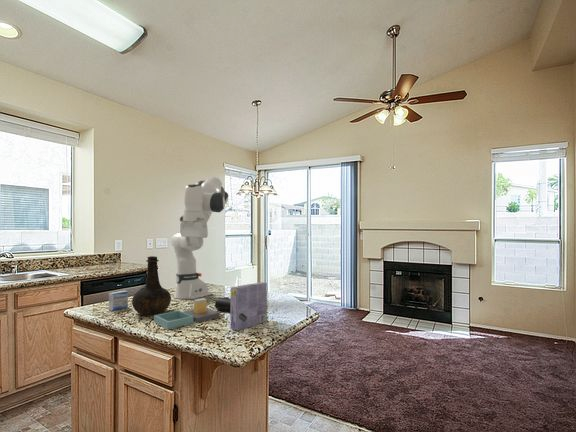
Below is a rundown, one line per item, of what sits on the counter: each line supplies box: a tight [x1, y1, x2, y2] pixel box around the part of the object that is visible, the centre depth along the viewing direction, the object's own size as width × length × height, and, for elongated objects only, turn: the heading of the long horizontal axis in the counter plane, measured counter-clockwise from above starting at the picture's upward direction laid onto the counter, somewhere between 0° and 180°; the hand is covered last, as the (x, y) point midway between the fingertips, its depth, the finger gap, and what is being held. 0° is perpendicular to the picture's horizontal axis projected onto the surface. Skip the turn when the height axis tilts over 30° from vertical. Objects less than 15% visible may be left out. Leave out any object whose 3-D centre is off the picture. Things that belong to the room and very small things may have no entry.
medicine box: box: [108, 290, 129, 312], centre depth 163 cm, size 8×4×9 cm, turn 143°
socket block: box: [182, 307, 220, 324], centre depth 147 cm, size 12×14×2 cm
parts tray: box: [153, 310, 194, 330], centre depth 138 cm, size 12×14×4 cm
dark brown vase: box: [131, 255, 172, 316], centre depth 155 cm, size 18×18×28 cm
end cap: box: [214, 296, 231, 313], centre depth 158 cm, size 10×7×7 cm
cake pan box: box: [230, 281, 268, 332], centre depth 137 cm, size 19×5×18 cm, turn 141°
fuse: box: [193, 297, 207, 314], centre depth 147 cm, size 5×3×8 cm, turn 135°
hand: (193, 247), depth 149 cm, fingers open, 8 cm apart
